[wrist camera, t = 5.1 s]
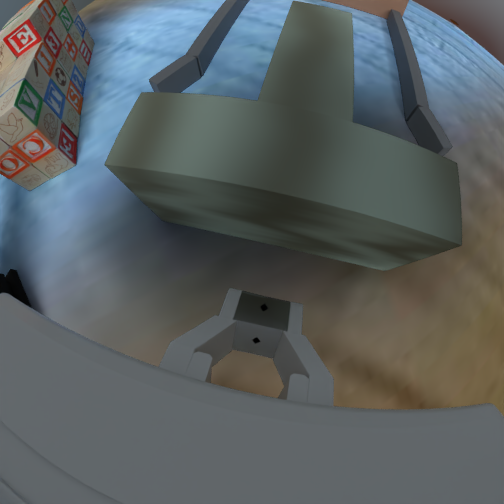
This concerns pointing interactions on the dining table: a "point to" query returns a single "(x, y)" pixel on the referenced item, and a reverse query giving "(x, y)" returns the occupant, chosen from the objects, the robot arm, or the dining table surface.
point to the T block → (292, 160)
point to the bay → (378, 3)
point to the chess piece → (13, 286)
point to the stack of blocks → (41, 90)
